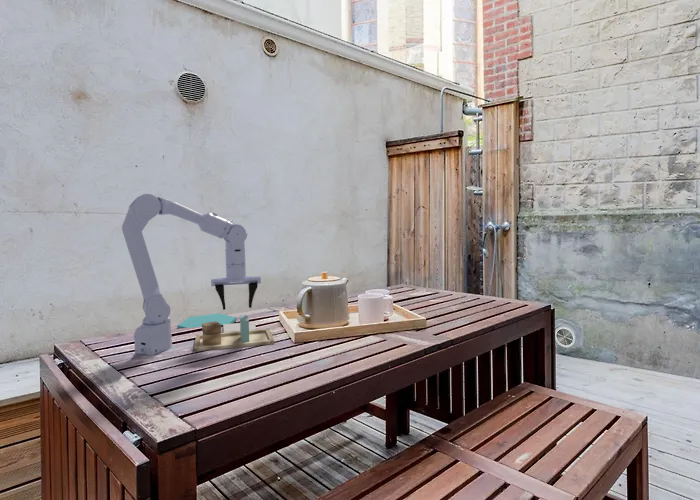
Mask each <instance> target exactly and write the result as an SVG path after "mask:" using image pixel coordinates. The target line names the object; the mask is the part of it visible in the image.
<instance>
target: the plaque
mask: <svg viewBox="0 0 700 500" xmlns="http://www.w3.org/2000/svg"><path fill="white" fill-rule="evenodd" d="M215 321H216V322H218V323H220V324H221V326H223V324H234V323H235V322H236V321H238V318H237V316H232V315H228V314H224V313H220V312H218V313H210V314H203V315H202V314H201V315H195V316H194V315H193V316H190V317H188V318H186V319H184V320H183V321H181V322H179V323H178V324H177V325H176V328H177V329H190V328H192V329H193V328H202V323H208V322H215Z"/></svg>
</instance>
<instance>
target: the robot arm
mask: <svg viewBox="0 0 700 500" xmlns="http://www.w3.org/2000/svg"><path fill="white" fill-rule="evenodd" d="M157 215H160V216H164V215H172V216H175V217H178V218H180V219H184V220H185V221H188V222H191V223H194V224H196V225H198V227H199V229H200V231H201V232H204V233H206V234H209V235H211V236H214V237H216V238H219V239H223V240H224V241H225V249H224V250H225V273H226V274H225V275H226V277H221V278H219V277H218V278H211V279H210V283H211V284H210V285H211V287H215V288H214V289H215V291H216V292H217V294H218V296H219V299H220V302H221V305H222V310H226V301H225V286H232V285H233V286H234V285H248V308H249V309H252V305H253V300H254V297H255V293H256V291H257V289H258V287H259V286H258V284H259V285H260V284H261V283H262V278H261V276H247V274H246V273H247V271H246V270H247V269H246V268H247V267H246V247H245V242H246V240H247V237H248V233H247V230H246V228H245V227H244V226H243V225H241V224H237V223H233V220H232V219H228V220H227V219H226V218H223V217H221V216H218V213H216V212H212V213H211V212H206V213H204V214H202V213H200V212H198V211H195V210H194V209H191V208H190V207H187V206H184V205H182V204H180V203H178V202H176V201H173V200H170V199H167V198H164V197H160V196H155V195H154V194H152V193H144V194H141V195H138V196H137V197H136V198H135V199H134V200H133V201H132V202H131V203H130V205H129V206H128V209H127V212H126V215H125V218H124V221H123V223H122V225H121V231H122V234H123V237H124V241H125V243H126V247H127V250H128V252H129V256H130V259H131V262H132V265H133V269H134V271H135V275H136V277H137V281H138V284H139V288H140V290H141V291H140V292H141V294H142V298H143V302H142V310H143V312H144V314H145V317H144V318H142V323H141V325H140V326H138V327H137V328H136V329H135V330H134V334H133V339H134V353H135V354H138V355H139V354H140V355H146V356H148V355H149V356H154V355H157V354H158V353H161V352H165V351H167V350H170V349H171V348H173V342H172V341H173V339H172V322H171V319H172V318H171V317H170V314H171V307H170V305H169V303H168V302H167V301H166V299H165V298H164V297H163V294H162V291H161V288H160V286H159V283H158V279H157V276H156V274H155V270H154V267H153V263H152V260H151V256H150V253H149V251H148V247H147V245H146V244H147V243H146V241H145V237H144V234H143V230H144V229H145V228H146V226H147V224H149V221H151V220H152V219H154V218H155V217H156V216H157ZM135 354H132V357H134V356H135Z"/></svg>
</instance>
